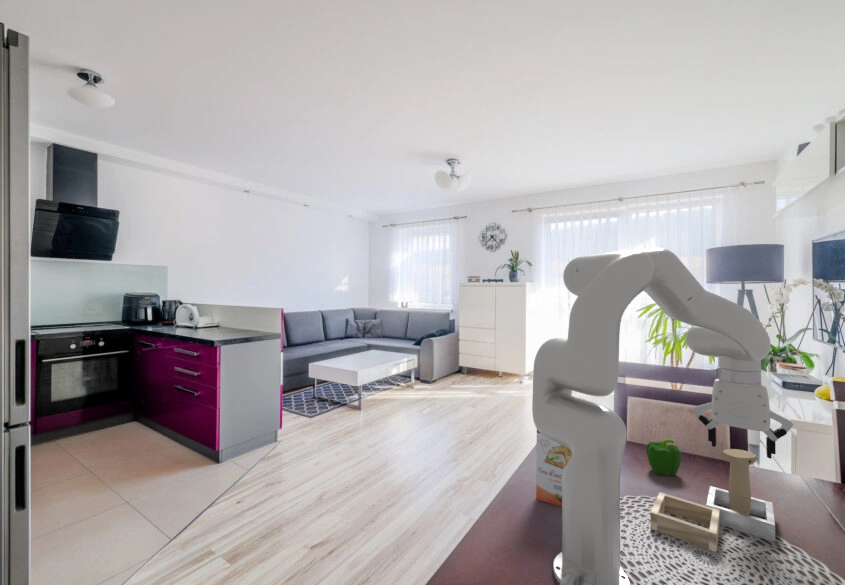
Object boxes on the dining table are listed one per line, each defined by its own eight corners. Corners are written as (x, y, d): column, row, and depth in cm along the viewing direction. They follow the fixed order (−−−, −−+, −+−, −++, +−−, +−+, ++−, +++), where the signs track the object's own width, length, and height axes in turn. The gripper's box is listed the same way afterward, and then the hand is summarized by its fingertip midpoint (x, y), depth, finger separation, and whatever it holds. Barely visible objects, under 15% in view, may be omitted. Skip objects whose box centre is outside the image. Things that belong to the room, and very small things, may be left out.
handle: (762, 524, 83) (762, 457, 83) (738, 526, 82) (737, 458, 82) (740, 511, 88) (740, 448, 88) (717, 514, 87) (717, 449, 87)
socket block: (775, 542, 77) (775, 525, 77) (706, 520, 85) (706, 504, 85) (772, 517, 86) (772, 502, 86) (710, 499, 93) (709, 485, 93)
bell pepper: (640, 470, 109) (640, 436, 109) (654, 463, 113) (654, 430, 113) (672, 482, 102) (672, 446, 102) (686, 474, 106) (685, 439, 106)
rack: (716, 552, 74) (716, 534, 74) (650, 528, 81) (650, 512, 81) (719, 525, 83) (719, 509, 83) (659, 506, 90) (659, 491, 90)
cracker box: (535, 501, 92) (535, 417, 92) (540, 490, 97) (541, 410, 97) (597, 518, 85) (597, 427, 85) (599, 505, 90) (599, 419, 90)
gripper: (691, 374, 88) (692, 446, 88) (793, 385, 77) (795, 467, 77) (694, 369, 94) (695, 436, 94) (790, 378, 83) (791, 455, 83)
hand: (740, 450), depth 85 cm, fingers open, 9 cm apart
